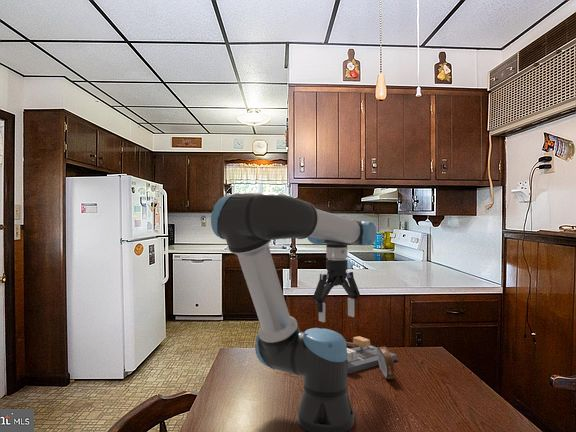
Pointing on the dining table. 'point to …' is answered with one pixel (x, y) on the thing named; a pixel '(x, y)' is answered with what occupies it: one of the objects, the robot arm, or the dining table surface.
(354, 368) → the console
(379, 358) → the tin
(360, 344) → the fader orange
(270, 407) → the dining table surface
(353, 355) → the fader cream
